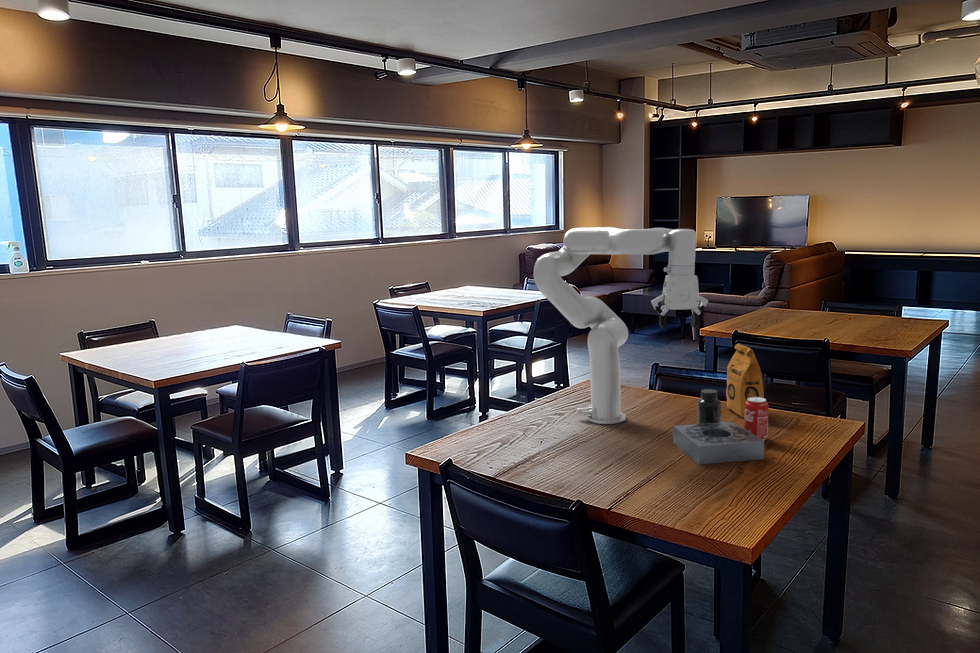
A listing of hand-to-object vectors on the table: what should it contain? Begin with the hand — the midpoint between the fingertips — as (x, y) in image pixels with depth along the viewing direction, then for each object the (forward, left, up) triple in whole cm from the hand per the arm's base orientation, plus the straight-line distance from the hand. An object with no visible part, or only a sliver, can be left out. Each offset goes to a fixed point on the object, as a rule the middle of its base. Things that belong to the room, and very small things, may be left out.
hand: (678, 327), depth 206 cm
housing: (+2, -22, -31) cm, 38 cm away
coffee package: (+26, +9, -32) cm, 42 cm away
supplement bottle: (+8, -4, -32) cm, 33 cm away
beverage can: (+17, -16, -32) cm, 39 cm away
